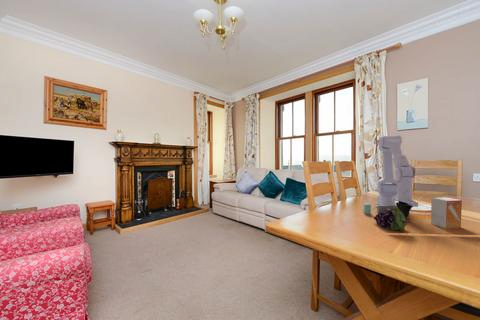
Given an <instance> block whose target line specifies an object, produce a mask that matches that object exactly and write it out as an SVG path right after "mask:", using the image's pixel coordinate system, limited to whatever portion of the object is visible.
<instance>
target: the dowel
mask: <svg viewBox="0 0 480 320" xmlns="http://www.w3.org/2000/svg"><path fill="white" fill-rule="evenodd" d="M371 211H372V204H371V203H366V202H365V203H363V214H364V215H371V214H372V212H371Z"/></svg>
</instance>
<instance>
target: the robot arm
mask: <svg viewBox="0 0 480 320" xmlns="http://www.w3.org/2000/svg"><path fill="white" fill-rule="evenodd" d="M402 143H403V138H402V136H401V135H380V136H379V139H378V150H379V151H381V154H382V155H381V157H382V178H381V179H379V180H378V181H377V185H376V190H377V193H378V195H377V197H376V206H374V207H375V208H377V205H397V207H398V208H399V210H400V211H401V212H402V213H403V214H404V216H405V218H406V219H408V218H407V217H408V214H409V212H410V211H411V210H412V208H415V207H416V208H418V207H419V202H417V201H415V200H413V179H414V178H415V176H416V170H415V167H414V166H413V165H412V164H410V163H409V161H408V157H407V156H406V155H404V154H403V152H402V148H401V145H402ZM393 164H394V167H395V171H394V170H393V169H394V167H393ZM393 173H394V174H393ZM394 175H395V179H394Z"/></svg>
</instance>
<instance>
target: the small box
mask: <svg viewBox="0 0 480 320" xmlns="http://www.w3.org/2000/svg"><path fill="white" fill-rule="evenodd" d="M462 206H463V200H462V199H457V198H453V197H447V196H445V197H444V196H443V197H432V198H431V207H430V209H431V211H430V212H431V215H430V224H431V225H434V226H436V227H437V226H438V227H440V228H443V229H458V228H459V229H460V228H462V210H463V209H462Z"/></svg>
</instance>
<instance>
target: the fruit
mask: <svg viewBox="0 0 480 320" xmlns="http://www.w3.org/2000/svg"><path fill="white" fill-rule="evenodd" d="M373 220H375V223H376V224H378V225H379V226H380V227H384V228H385V229H386V230H389V231H398V230H400V231H405V228H406V226H407V225H408V224H409V223H411V221H409V220H407V218H405V216H404V214H403V213H402V212H401V211H400V210H399V208H397V209H396V211H395V210H394V209H393V210H386V211H385V213H382V212H379V213H377V214H376V215H375V216H373Z"/></svg>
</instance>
